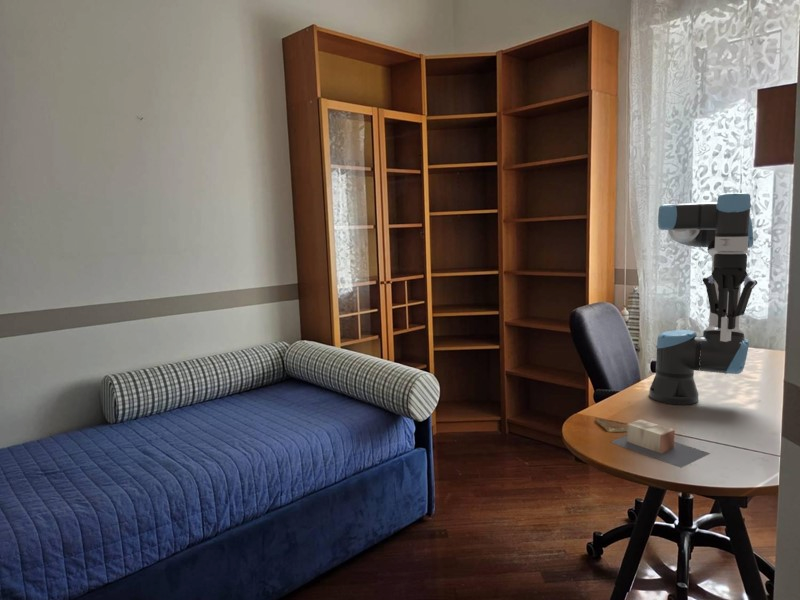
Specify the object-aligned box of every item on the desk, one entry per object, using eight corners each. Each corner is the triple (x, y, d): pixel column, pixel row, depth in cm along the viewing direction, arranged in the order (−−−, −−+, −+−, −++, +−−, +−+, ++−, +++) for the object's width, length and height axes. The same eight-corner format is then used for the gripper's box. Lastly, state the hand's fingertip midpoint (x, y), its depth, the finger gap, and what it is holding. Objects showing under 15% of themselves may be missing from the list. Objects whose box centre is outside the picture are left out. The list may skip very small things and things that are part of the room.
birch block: (673, 447, 148) (639, 436, 156) (674, 429, 147) (640, 419, 155) (661, 453, 144) (626, 441, 153) (662, 435, 144) (627, 424, 152)
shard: (594, 422, 171) (594, 416, 170) (618, 421, 171) (618, 415, 171) (608, 435, 160) (608, 429, 160) (634, 434, 160) (634, 428, 160)
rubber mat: (639, 432, 160) (639, 430, 160) (710, 455, 144) (710, 453, 144) (610, 443, 153) (610, 442, 153) (681, 469, 136) (681, 467, 136)
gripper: (698, 252, 149) (693, 338, 152) (750, 254, 138) (744, 346, 141) (712, 251, 153) (708, 335, 156) (764, 252, 142) (758, 342, 145)
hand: (725, 340), depth 149 cm, fingers closed
